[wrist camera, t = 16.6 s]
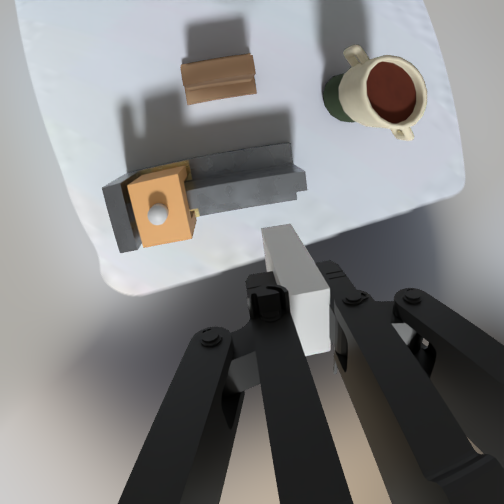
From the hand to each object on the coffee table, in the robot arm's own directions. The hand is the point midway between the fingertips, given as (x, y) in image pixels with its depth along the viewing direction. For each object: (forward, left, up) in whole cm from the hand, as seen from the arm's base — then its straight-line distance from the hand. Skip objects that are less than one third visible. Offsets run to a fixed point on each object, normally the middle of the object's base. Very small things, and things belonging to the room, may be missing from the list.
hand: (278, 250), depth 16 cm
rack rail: (0, -4, -24) cm, 24 cm away
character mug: (-8, +14, -24) cm, 29 cm away
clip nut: (0, -9, -20) cm, 22 cm away
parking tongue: (-12, -1, -24) cm, 27 cm away
